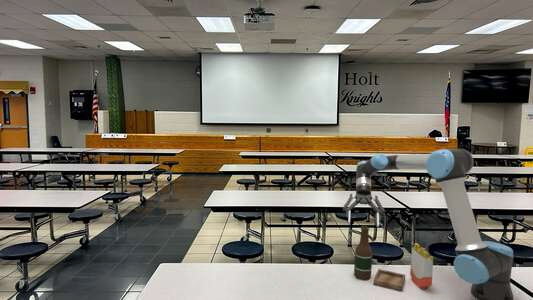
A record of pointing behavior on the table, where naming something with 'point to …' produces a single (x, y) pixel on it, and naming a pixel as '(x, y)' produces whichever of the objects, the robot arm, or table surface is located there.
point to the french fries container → (421, 267)
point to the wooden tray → (389, 280)
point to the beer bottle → (363, 256)
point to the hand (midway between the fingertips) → (363, 224)
